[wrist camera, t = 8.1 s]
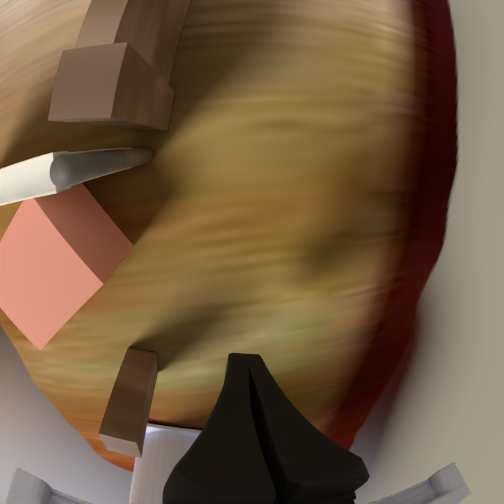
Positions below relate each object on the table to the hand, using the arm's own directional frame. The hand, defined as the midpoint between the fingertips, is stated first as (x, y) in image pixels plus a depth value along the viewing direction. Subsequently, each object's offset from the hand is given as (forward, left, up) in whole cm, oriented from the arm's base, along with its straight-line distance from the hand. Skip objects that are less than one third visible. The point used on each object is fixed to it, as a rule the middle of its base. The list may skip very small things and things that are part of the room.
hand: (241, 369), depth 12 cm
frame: (+6, +6, -5) cm, 9 cm away
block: (+3, +10, -5) cm, 12 cm away
